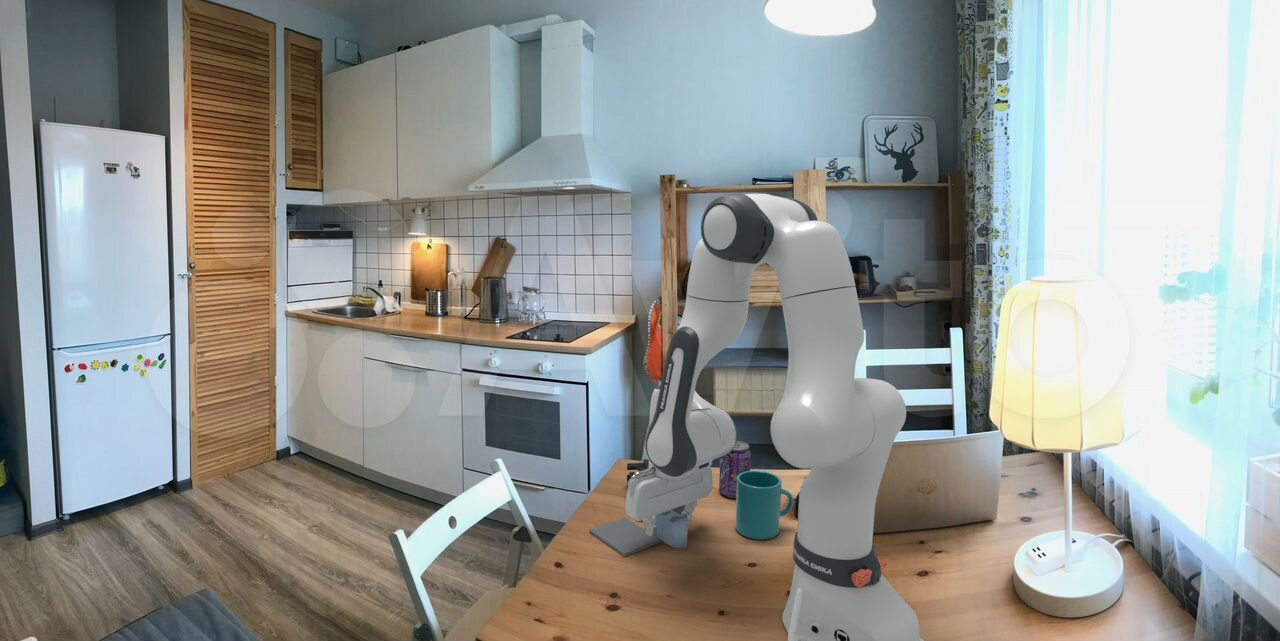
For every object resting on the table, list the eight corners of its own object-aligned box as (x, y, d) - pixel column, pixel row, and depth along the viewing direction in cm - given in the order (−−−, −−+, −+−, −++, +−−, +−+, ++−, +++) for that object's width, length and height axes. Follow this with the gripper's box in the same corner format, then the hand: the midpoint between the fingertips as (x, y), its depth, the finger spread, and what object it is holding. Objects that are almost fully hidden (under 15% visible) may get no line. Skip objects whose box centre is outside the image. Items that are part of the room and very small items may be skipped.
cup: (799, 539, 124) (802, 486, 122) (741, 542, 123) (743, 488, 121) (784, 518, 133) (786, 469, 131) (730, 521, 132) (731, 471, 130)
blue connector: (690, 544, 122) (691, 520, 121) (677, 550, 119) (678, 526, 119) (656, 523, 130) (656, 501, 129) (643, 528, 128) (643, 506, 127)
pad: (660, 542, 122) (660, 539, 122) (624, 556, 117) (624, 553, 117) (624, 519, 132) (624, 517, 132) (589, 532, 126) (589, 529, 126)
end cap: (661, 502, 140) (661, 474, 139) (630, 503, 140) (630, 475, 139) (655, 484, 150) (656, 458, 149) (626, 485, 149) (626, 459, 148)
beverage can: (719, 486, 149) (720, 439, 147) (748, 488, 148) (750, 440, 146) (718, 499, 142) (720, 449, 140) (749, 501, 141) (751, 451, 139)
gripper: (639, 480, 113) (638, 550, 115) (718, 455, 125) (716, 519, 127) (619, 469, 118) (618, 536, 120) (697, 446, 130) (695, 508, 132)
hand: (669, 527), depth 124 cm, fingers open, 8 cm apart
